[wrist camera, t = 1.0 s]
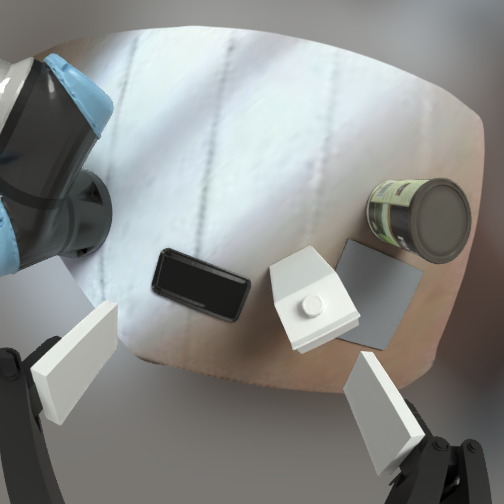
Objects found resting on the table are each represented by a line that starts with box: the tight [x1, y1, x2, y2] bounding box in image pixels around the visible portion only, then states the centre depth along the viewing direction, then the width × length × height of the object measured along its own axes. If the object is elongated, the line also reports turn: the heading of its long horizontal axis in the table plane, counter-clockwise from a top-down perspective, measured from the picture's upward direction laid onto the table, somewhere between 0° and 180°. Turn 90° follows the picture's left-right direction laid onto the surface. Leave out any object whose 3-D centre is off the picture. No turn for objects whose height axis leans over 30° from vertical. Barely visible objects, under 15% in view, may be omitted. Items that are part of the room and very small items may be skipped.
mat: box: [335, 239, 423, 350], centre depth 44 cm, size 16×16×1 cm
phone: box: [152, 248, 251, 322], centre depth 44 cm, size 8×1×15 cm
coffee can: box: [366, 178, 472, 264], centre depth 34 cm, size 10×10×14 cm
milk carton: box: [269, 246, 360, 354], centre depth 34 cm, size 7×7×19 cm
